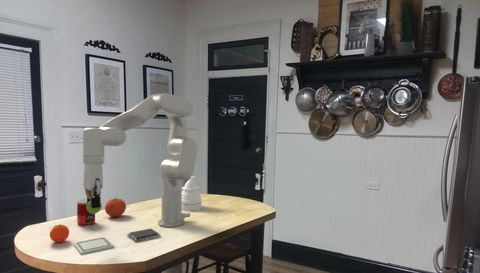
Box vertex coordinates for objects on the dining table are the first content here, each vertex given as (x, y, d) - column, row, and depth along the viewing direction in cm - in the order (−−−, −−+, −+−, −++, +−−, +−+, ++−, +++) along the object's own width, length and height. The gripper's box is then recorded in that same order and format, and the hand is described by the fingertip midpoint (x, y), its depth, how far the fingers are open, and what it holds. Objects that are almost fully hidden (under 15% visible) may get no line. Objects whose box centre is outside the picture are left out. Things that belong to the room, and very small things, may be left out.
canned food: (88, 226, 151) (88, 203, 150) (73, 225, 152) (73, 202, 152) (98, 221, 158) (98, 199, 158) (84, 220, 160) (84, 198, 159)
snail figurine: (86, 211, 129) (87, 181, 129) (103, 211, 130) (103, 181, 129) (81, 215, 124) (81, 184, 124) (98, 215, 124) (98, 184, 124)
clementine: (43, 245, 128) (43, 227, 127) (53, 238, 135) (53, 221, 134) (63, 245, 128) (63, 227, 127) (72, 239, 135) (72, 222, 134)
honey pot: (190, 204, 196) (190, 174, 196) (206, 207, 189) (206, 176, 188) (174, 208, 186) (174, 177, 185) (190, 212, 178) (190, 179, 178)
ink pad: (151, 231, 146) (151, 227, 146) (160, 236, 139) (160, 233, 139) (127, 236, 139) (127, 232, 139) (135, 242, 132) (135, 238, 132)
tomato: (100, 218, 164) (100, 198, 164) (112, 213, 174) (113, 194, 174) (118, 220, 162) (118, 200, 161) (129, 214, 172) (130, 195, 171)
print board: (104, 238, 136) (104, 236, 136) (114, 247, 126) (114, 244, 126) (73, 244, 128) (73, 242, 128) (80, 254, 119) (80, 252, 119)
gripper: (78, 158, 130) (77, 202, 131) (89, 162, 117) (89, 212, 118) (97, 157, 135) (97, 200, 136) (110, 161, 122) (110, 209, 122)
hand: (93, 205), depth 127 cm, fingers closed on snail figurine, 5 cm apart
